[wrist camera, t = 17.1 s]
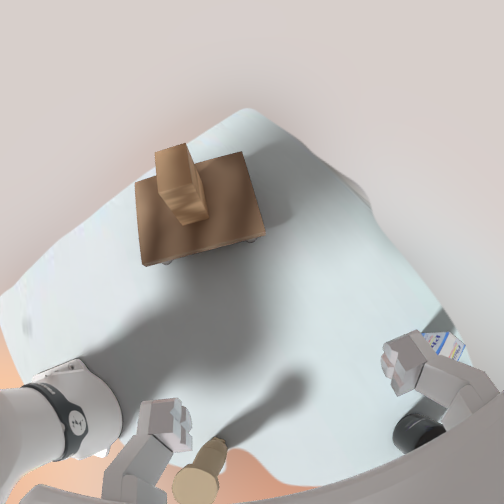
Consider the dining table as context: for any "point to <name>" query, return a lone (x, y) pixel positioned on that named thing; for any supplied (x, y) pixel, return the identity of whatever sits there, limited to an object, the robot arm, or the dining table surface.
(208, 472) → the handle
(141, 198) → the walnut shelf
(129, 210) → the dining table surface
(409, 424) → the supplement bottle
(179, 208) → the ochre block
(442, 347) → the medicine box
